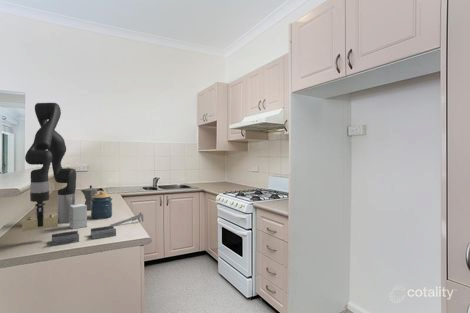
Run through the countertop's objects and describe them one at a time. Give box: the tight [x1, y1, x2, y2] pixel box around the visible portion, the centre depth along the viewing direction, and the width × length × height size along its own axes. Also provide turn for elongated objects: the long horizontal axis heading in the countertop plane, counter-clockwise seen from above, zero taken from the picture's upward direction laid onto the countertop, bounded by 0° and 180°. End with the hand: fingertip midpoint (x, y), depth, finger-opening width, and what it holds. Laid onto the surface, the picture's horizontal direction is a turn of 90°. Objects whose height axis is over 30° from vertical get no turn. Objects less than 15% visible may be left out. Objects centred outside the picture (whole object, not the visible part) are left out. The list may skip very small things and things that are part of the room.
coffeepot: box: [80, 185, 105, 212], centre depth 200 cm, size 15×9×18 cm, turn 118°
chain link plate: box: [21, 214, 59, 232], centre depth 130 cm, size 3×14×6 cm, turn 126°
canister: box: [90, 191, 113, 220], centre depth 178 cm, size 13×13×18 cm
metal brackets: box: [51, 225, 117, 247], centre depth 135 cm, size 8×28×4 cm, turn 125°
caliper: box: [109, 211, 144, 227], centre depth 162 cm, size 20×1×6 cm, turn 129°
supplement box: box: [69, 203, 88, 230], centre depth 155 cm, size 7×7×13 cm
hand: (40, 225), depth 130 cm, fingers closed on chain link plate, 3 cm apart
